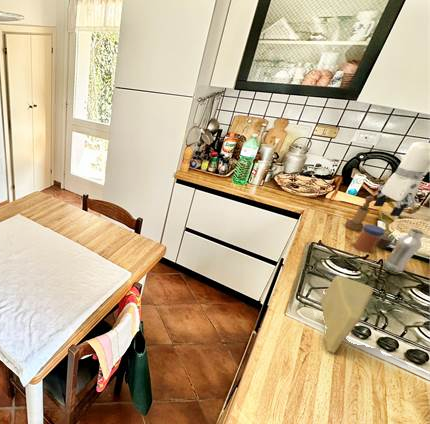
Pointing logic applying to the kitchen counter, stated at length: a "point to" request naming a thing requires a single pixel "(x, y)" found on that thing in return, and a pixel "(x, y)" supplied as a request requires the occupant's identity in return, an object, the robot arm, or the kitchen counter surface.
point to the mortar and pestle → (360, 215)
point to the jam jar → (366, 241)
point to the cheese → (343, 309)
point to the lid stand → (384, 242)
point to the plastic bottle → (403, 251)
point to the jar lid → (374, 230)
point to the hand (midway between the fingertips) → (385, 210)
